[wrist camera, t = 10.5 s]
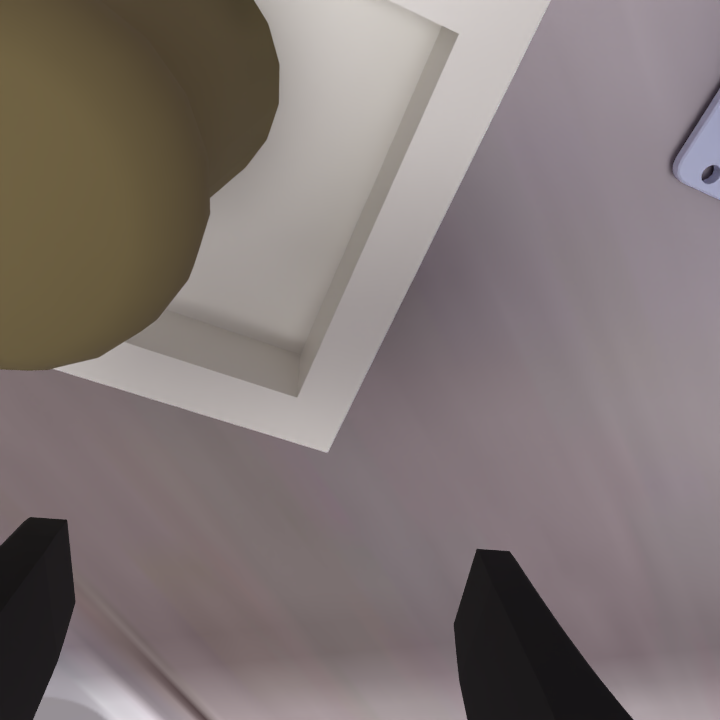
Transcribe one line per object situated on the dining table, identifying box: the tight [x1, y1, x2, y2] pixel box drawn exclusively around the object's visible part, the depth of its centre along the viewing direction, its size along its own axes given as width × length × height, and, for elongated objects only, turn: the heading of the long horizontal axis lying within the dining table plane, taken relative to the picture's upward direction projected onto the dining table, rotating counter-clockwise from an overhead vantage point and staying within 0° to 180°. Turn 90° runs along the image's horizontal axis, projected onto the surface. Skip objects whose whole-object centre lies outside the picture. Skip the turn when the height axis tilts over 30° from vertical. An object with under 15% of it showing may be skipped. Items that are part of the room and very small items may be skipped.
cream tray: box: [53, 0, 551, 453], centre depth 17 cm, size 15×13×3 cm
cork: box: [0, 0, 280, 370], centre depth 12 cm, size 6×6×11 cm
